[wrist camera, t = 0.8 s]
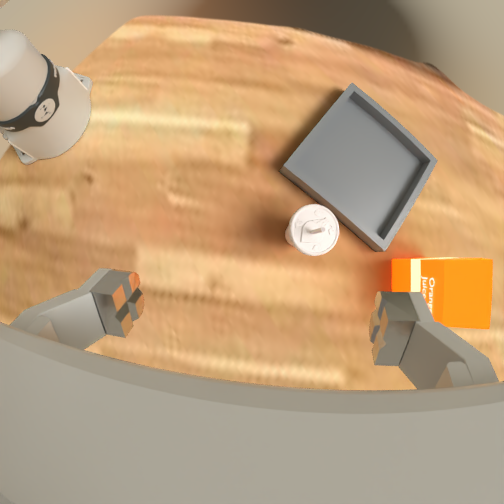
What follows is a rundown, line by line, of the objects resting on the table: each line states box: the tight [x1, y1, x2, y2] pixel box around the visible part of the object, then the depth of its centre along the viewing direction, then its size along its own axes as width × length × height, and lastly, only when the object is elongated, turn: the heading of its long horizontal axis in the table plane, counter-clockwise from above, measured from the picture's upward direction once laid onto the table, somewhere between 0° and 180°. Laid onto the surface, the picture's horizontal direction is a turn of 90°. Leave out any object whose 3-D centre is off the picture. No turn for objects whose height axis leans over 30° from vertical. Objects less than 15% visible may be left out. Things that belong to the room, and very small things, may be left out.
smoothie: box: [285, 204, 339, 256], centre depth 41 cm, size 6×6×14 cm
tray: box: [279, 83, 437, 252], centre depth 48 cm, size 20×20×4 cm
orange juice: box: [392, 258, 493, 329], centre depth 40 cm, size 8×9×20 cm
